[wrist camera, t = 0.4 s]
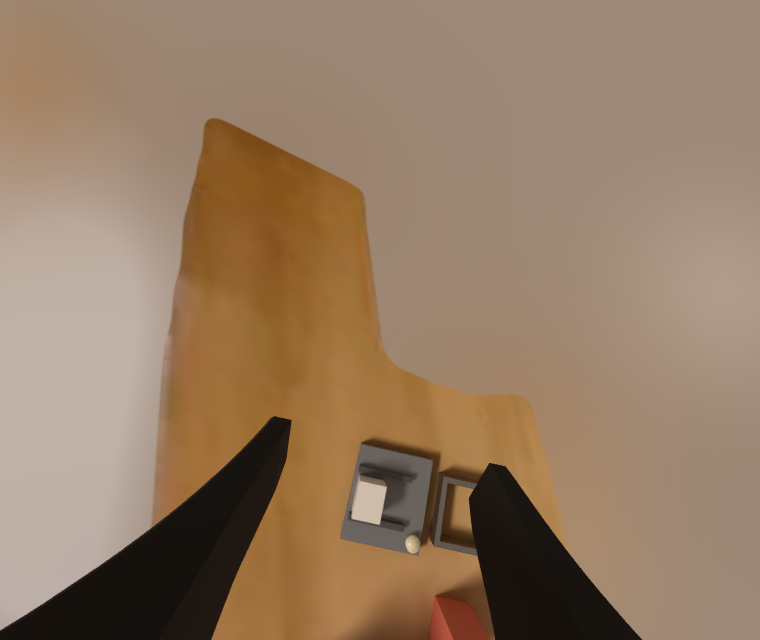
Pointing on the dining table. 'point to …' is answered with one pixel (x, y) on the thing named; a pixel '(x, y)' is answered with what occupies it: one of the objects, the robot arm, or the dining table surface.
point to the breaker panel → (392, 499)
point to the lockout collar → (438, 513)
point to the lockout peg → (455, 621)
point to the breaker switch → (369, 499)
